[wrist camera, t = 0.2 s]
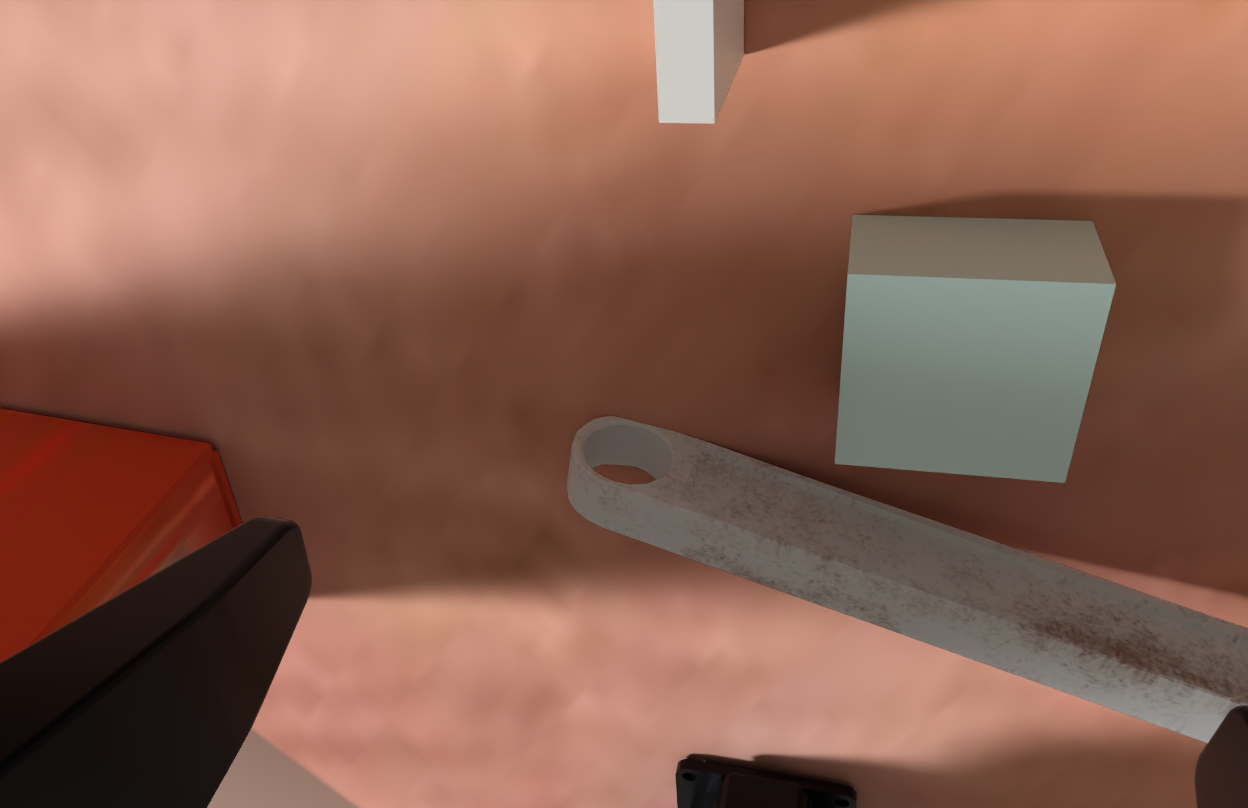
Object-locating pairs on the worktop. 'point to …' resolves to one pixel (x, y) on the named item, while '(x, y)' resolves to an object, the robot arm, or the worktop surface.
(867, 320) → the tile
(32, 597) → the file binder
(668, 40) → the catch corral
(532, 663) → the worktop surface
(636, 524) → the wrench
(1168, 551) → the worktop surface
